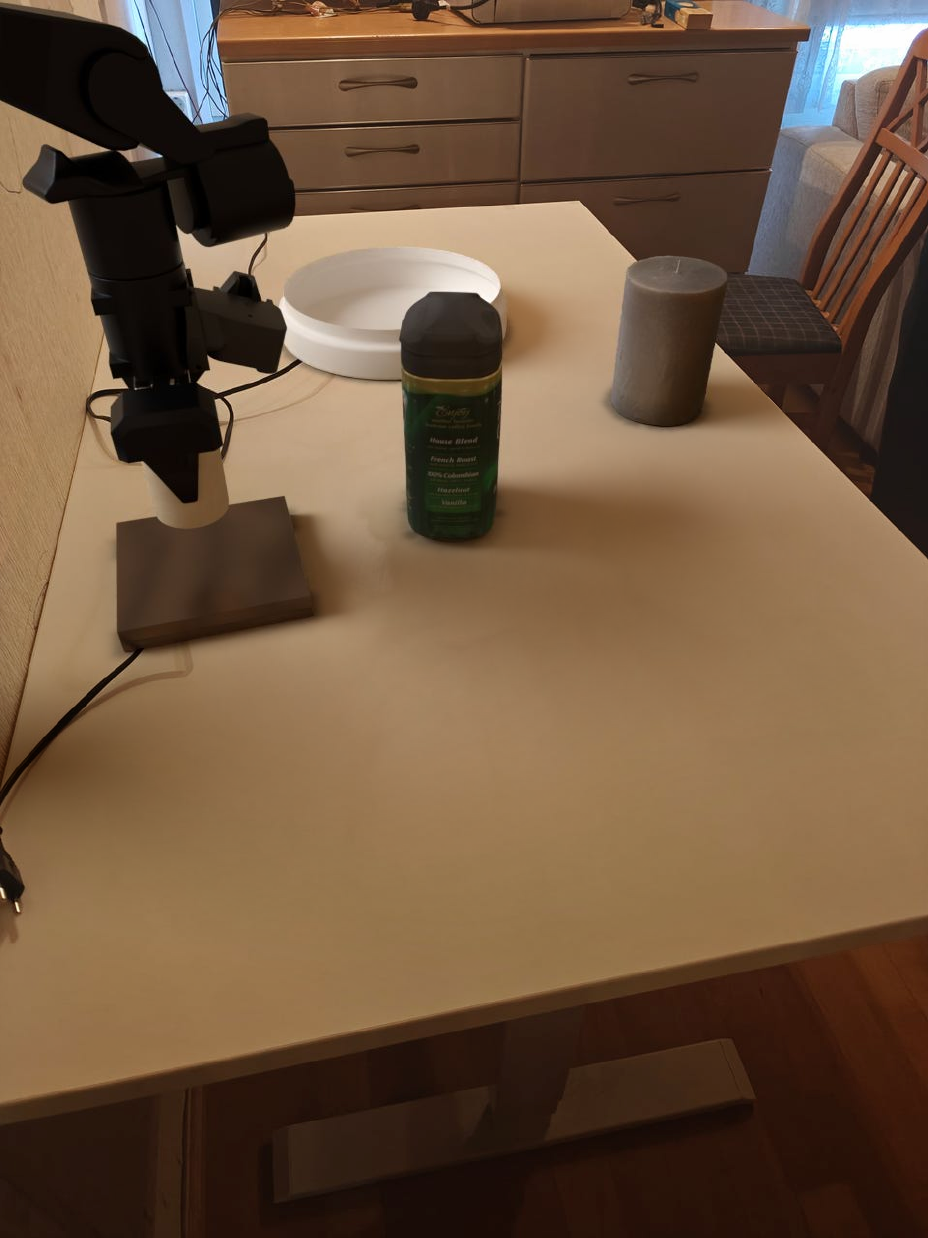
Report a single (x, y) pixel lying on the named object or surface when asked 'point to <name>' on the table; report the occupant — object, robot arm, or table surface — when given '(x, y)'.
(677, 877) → the table surface
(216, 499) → the candle
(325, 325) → the round white dish
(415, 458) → the coffee jar
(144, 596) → the dark wooden base block
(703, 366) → the pillar candle
